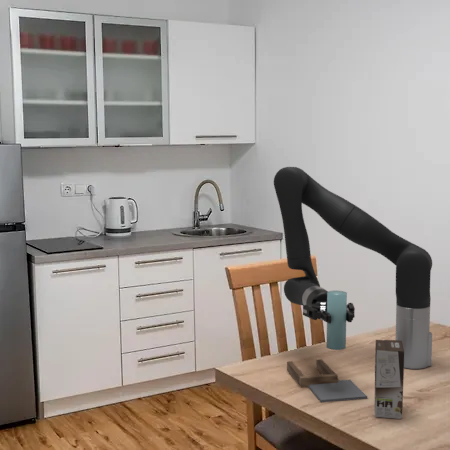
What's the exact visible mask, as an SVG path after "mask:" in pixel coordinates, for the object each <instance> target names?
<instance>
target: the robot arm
mask: <svg viewBox="0 0 450 450" xmlns="http://www.w3.org/2000/svg"><path fill="white" fill-rule="evenodd" d="M273 186H274V187H273V188H274V191H275V194H276V198H277V201H278V205H279V210H280V215H281V218H282V219H281V221H282V226H283V233H284V241H285V242H284V243H285V244H284V245H285V251H286V261H287V262H286V263H287V266H288V268H289V269H291V270H294V271H295V270H298V271H303V273H304V274H305V275H304V276H299V277H292V278H291V277H290V278H288V279H287V280H286V281H285V282H284V285H283V293H284V295H285V297H286V299H287V300H288V301H289V302H290V303H292V304H295V305H299V306H302V316H304V317H306V318H309V319H311V320H313V321H318V320H319V321H323V322H325V323H326V324H327V323H331V314H329V313H328V312H327V292H328V290H327V289H325V288H324V287H321V285H320V282H319V279H318V277H317V274H316V271H315V270H314V266H313V262H312V255H311V246H310V238H309V234H308V230H307V227H306V224H305V220H304V219H305V218H304V214H303V206H302V205H305V206H306V207H308V208H310V209H311V210H312V211H314V212H315V213H316V214H317V215H318V216H319V217H320V218H321V219H322V220H323V221H324V222H325V223H326V224H327V225H328V226H329V227H331V228H332V229H333V230H334V231H335V232H337V233H338V234H340V235H341V236H343V237H344V238H346V239H347V240H349V241H351V242H352V243H354V244H356V245H359V246H361V247H363V248H366V249H368V250H371V251H373V252H375V253H378V255H381V256H383V257H384V258H385V259H387V260H388V261H390V262H391V263H392V264H393V265H395V297H396V298H395V300H396V306H395V311H396V312H395V314H396V315H395V338H394V340H400V341H402V343H403V347H404V351H405V352H404V369H411V370H419V369H420V370H422V369H425V368H428V367H431V366H432V357H433V353H432V351H433V332H431V331H430V328H431V327H430V324H431V323H430V322H431V275H432V274H431V273H432V267H433V260H432V259H433V258H432V256H431V255H430V253H429V252H428V251H427V250H426V249H424V248H423V247H421V246H419V245H416V244H415V243H413V242H411V241H409V240H407V239H406V238H403V237H401V236H400V235H398V234H396V232H393V231H392V230H390V229H389V227H386V226H385V225H384V224H383V223H381V222H380V221H379V220H377V219H376V218H374V217H373V216H372V215H370V214H369V213H367V212H366V211H365V210H364V209H362V208H360V207H358V206H357V205H356V204H353V203H352V202H350V201H349V200H347V199H345V198H343V197H342V196H341V195H338V194H336V193H334V192H333V191H330V190H329V189H327V188H325V187H324V186H323V185H321V184H320V183H319V182H317V181H316V180H315V179H314V178H313V177H311V176H310V175H309V174H308V173H307V172H306V171H304V170H303V169H302V168H300V167H297V166H286V167H282V168H280V169H279V170H278V171H277V172H276V173H275V175H274V177H273ZM355 309H356V308H355V305H354V303H353V302H348V303H347V310H346V322H347V323H352V321H354V318H355V317H356V316H355V311H356V310H355Z"/></svg>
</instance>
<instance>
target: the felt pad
mask: <svg viewBox="0 0 450 450" xmlns="http://www.w3.org/2000/svg"><path fill="white" fill-rule="evenodd" d="M307 388H309V390H310V391H311V392H312V394H314V396H315V397H316V399H318V401H319V402H320V403H326V402H327V403H328V402H329V403H330V402H341V401H343V402H344V401H354V400H355V401H356V400H366V399H368V395H367V394H366V393H365V392H364V391H362V390H361V388H359V387H358V386H357V385H356V384H355V382H353V380H351V379H341V380H339V379H338V383H326V384H312V385H308V387H307Z"/></svg>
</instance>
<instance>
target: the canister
mask: <svg viewBox="0 0 450 450" xmlns="http://www.w3.org/2000/svg"><path fill="white" fill-rule="evenodd" d="M327 291H328V290H327ZM347 295H348V292H347V291H344V290H329V291H328V292H327V312H328V313H329V314H331V323H327V322H326V348H327V349H329V350H334V351H340V350H341V351H342V350H345V349H347V348H346V347H347V321H346V310H347V304H348V303H347V300H348V299H347V298H348V297H347Z"/></svg>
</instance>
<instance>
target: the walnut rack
mask: <svg viewBox="0 0 450 450" xmlns="http://www.w3.org/2000/svg"><path fill="white" fill-rule="evenodd" d="M315 368H316V370H317V371H318V372H319V373H320V374H313V375H304V373H303V372H302V371H301V370H300V369H299V368H298V366H297V365H296V364H295V362H293V360H291V361H286V371H287V372H288V373H289V374H290V376H291V378H292V379H293V380H294V381H295V382H296V384H297V385H298V386H299V387H300V388H309V387H308V385H312V384H326V383H338V380H339V379H338V378H339V375H338V374H337V373H336V372H335V371H334V370H333V369H332V368H331V367H330V366H329V365H328V364H327V363H326V362H325V361H324V360H323V359H321V358H320V359H319V358H318V359H316V365H315Z"/></svg>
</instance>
